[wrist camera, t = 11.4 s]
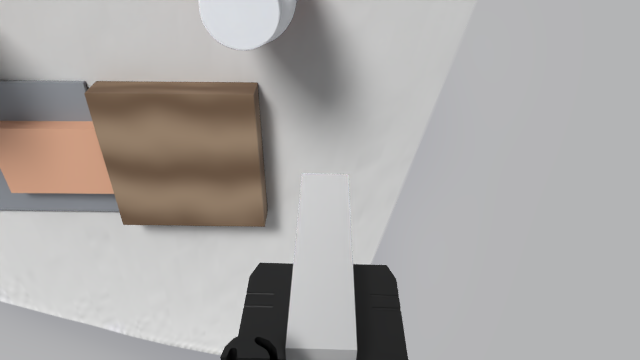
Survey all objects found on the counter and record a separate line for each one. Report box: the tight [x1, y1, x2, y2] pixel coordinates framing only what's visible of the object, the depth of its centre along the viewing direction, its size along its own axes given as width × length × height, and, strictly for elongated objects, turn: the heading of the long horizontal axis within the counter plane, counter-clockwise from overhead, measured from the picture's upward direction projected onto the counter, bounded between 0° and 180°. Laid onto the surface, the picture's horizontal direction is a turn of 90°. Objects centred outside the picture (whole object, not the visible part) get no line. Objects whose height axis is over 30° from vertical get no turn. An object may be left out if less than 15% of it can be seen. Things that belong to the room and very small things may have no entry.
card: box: [0, 121, 114, 194], centre depth 45 cm, size 7×10×2 cm
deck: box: [84, 81, 268, 227], centre depth 44 cm, size 14×14×2 cm
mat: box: [0, 81, 119, 211], centre depth 46 cm, size 14×20×1 cm
